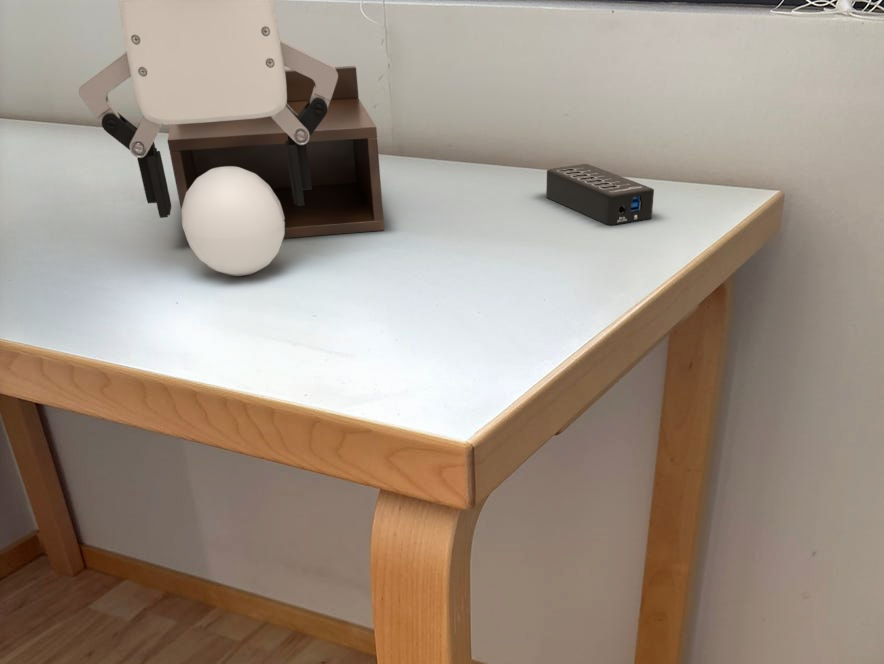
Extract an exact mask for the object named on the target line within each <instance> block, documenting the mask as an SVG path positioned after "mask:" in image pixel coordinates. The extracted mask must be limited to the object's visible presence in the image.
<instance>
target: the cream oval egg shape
mask: <svg viewBox="0 0 884 664" xmlns="http://www.w3.org/2000/svg"><path fill="white" fill-rule="evenodd" d="M285 220H286V217H285V215H284V214H283V211H282V207H281V204H280V201H279V200H278V198H277V197H276V195H275V194H274V192H273V190H272V189H271V187H270V186H269V185H268V184H267V183H266V182H265V181H264V180H262V179H261V178H260V177H259V176H258V175H257V174H255V173H252V172H250V171H247V170H245V169H242V168H240V167H235V166H225V167H217V168H213V169H211V170H209V171H207V172H206V173H204V174H202V175H201V176H199V177H198V178H197V179H196V180H195V181H194V183H193V184H192V185H191V187H190V188H189V190H188V191H187V192H186V195H185V198H184V202H183V205H182V212H181V226H182V229H183V232H184V235H185V238H186V241H187V240H188V243H189V247H190V248H191V250H192V251H193V253H194V254H195V255H196V257H197V258H198V259H199V260H200V261H201V262H202V263H204V264H206V265H207V266H208V267H209V268H210V269H212V270H214V271H215V272H219V273H222V274H226V275H229V276H235V277H242V276H243V277H244V276H248V275H252V274H255V273H257V272H258V271H260V270H262V269H264V268H266V267H268V266H269V265H270V264H271V263H272V261H273V260H274V259H275V257H276V256H277V255H278V253H279V251H280V249H281V246H282V243H283V241H284V239H285V238H284V234H285ZM188 243H187V244H188Z"/></svg>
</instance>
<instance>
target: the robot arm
mask: <svg viewBox="0 0 884 664" xmlns="http://www.w3.org/2000/svg"><path fill="white" fill-rule="evenodd" d="M118 5H119V12H120V19H121V26H122V32H123V39H124V45H125V52H123V53H122V54H121V55H119V56H117V58H115V59H114V60H112V61H110V62H109V63H108V64H107V65H106V66H104V67H103V68H102V69H100V70H99V71H97V72H96V73H95V74H94V75H92V76H91V77H89V78H88V79H86V80H85V81H84V82H82V84H81V85H80V87H79V89H78V95H79V97H80V99H81V101H83V102H84V104H85V106H87V108H88V109H89V110H90V112H91V113H92V115H93V116H94V117H95V118H96V119H97V120H98V122H99V123H100V124H101V127H102V128H103V130H104V131H105V132H106V133H107V134H108V135H110V137H113V138H114V139H115V140H116V141H117V142H118V143H120V144H121V145H122V146H124V147H125V148H126V149H127V150H129V152H130V153H131V154H132V156H133V157H135V158H137V159H136V160H137V163H138V164H137V165H138V167H139V172H140V177H141V181H142V185H143V190H144V194H145V199H146V202H147V204H156V208H157V211H158V216H159V218H160V219H163V218H168V216H170V215H171V211H172V201H171V197H170V196H171V195H170V193H169V187H168V182H167V177H166V173H165V169H164V164H163V158H162V154H161V151H160V150H158V148H157V147H156V144H155V140H156V139H157V136H158V134H159V133H160V131H161V129H162V127H163V126H164V125H169V126H171V125H174V124H190V123H205V122H218V121H231V120H244V119H255V118H263V117H269V116H270V117H271V118H272V119H273V120H274V121H275V122H276V123H277V124H278V125H279V126H280V127H281V128H282V129H283V130H284V131H285V132H286V133H287V137H288V138H287V139H288V141H285V144H286V151H287V158H288V165H289V172H290V179H291V187H292V193H293V199H294V203H295V204H297V205H298V206H301V205H305V204H304V196H303V190H310V189H312V186H311V178H310V170H309V162H308V155H307V147H306V143H307V142H308V141H309V138H310V136H311V135H312V133H313V132H314V130H315V129H316V128H317V126H318V125H319V124H320V122H321V121H322V119H323V118H324V117H325V115H326V114H327V110H328V106H329V103H330V101H331V98H332V95H333V92H334V89H335V86H336V83H337V80H338V73H337V71H336V69H335V68H334V67H335V66H333V65H331V64H330V63H327V62H326V61H323V60H321V59H319V58H317V57H315V56H314V55H311V54H309V53H307V52H305V51H303V50H301V49H299V48H297V47H295V46H293V45H291V44H289V43H287V42H284V41H282V40H281V37H280V32H279V26H278V21H277V15H276V9H275V4H274V0H118ZM286 68H288V69H292V70H294V71H296V72H299V73H301V74H303V75H305V76H307V77H309V78H311V79H312V80H314V83H315V85H314V89H313V93H312V96H311V98H310V100H309V101H308V103H307V104H306V105H305V107H304V108H303V109H302V111H301V112H300V114H299V115H298V114H297V113H296V112H295V111H294V110H293V109H292V108H291V107H290V106H289V105H288V104H287V85H286V75H285V70H286ZM128 79H131V83H132V88H133V92H134V97H135V100H136V104H137V107H138V109H139V112H140V114H141V115H142V118H141V119H140V121H139V123H138V125H137V126H136V125H134V124H133V123H132V122H130V121H129V120H128V119H127V118H126V117H124V116H123V115H122V114H120V113H119V112H118V111H117V110H116V109H115V107H114V106H113V104H112V103H111V101H110V100H109V96H108V95H109V93H110V92H111V91H113V90H115V89H116V88H117V87H118V86H120V85H121V84H122V83H124V82H125V81H127V80H128Z"/></svg>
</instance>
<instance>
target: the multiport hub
mask: <svg viewBox="0 0 884 664" xmlns="http://www.w3.org/2000/svg"><path fill="white" fill-rule="evenodd" d="M545 189H546V191H545V192H546V194H545V195H546V198H547V199H549V200H551V201H553V202H556V203H558V204H560V205H562V206H565V207H567V208H568V209H569V208H570V209H571V210H574V211H576V212H578V213H581V214H583V215H585V216H587V217H589V218H592V219H593V220H596V221H599V222H600V223H603V224H605V225H608V226H616V225H622V224H626V223H627V224H628V223H633V222H639V221H645V220H650V219H651V220H652V218H653V208H654V195H655V189H654V188H652V187H650V186H647V185H644V184H641V183H639V182H636V181H634V180H631V179H628V178H626V177H623V176H620V175H618V174H615V173H613V172H611V171H607V170H604V169H602V168H599V167H596V166H594V165H591V164H588V163H582V164H574V165H568V166H561V167H554V168H549V169H547V170H546V188H545Z"/></svg>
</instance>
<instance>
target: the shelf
mask: <svg viewBox="0 0 884 664" xmlns="http://www.w3.org/2000/svg"><path fill="white" fill-rule="evenodd" d="M333 67H334V68H335V69H336V71H337V73H338V80H337V83H336V86H335V89H334V92H333V95H332V98H331V101H330V103H329V106H328V110H327V114H326V115H325V117H324V118H323V119H322V121H321V122H320V124H319V125H318V126H317V128H316V129H315V130H314V132H313V133H312V135H311V136H310V138H309V141H308V142H307V143H306V147H307V155H308V162H309V170H310V178H311V186H312V189H310V190H303V196H304V204H305V205H301V206H298V205H297V204H295V203H294V199H293V193H292V187H291V179H290V172H289V165H288V158H287V151H286V144H285V141H288V139H287V138H288V137H287V133H286V132H285V131H284V130H283V129H282V128H281V127H280V126H279V125H278V124H277V123H276V122H275V121H274V120H273V119H272V118H271V117H270V116H269V117H263V118H255V119H244V120H231V121H218V122H205V123H190V124H174V125H170V127H169V131H168V136H167V139H166V140H167V145H168V150H169V155H170V160H171V166H172V171H173V176H174V181H175V185H176V191H177V197H178V202H179V206H180V213H182V205H183V202H184V198H185V195H186V192H187V191H188V190H189V188H190V187H191V185H192V184H193V183H194V181H195V180H196V179H197V178H198V177H199V176H201V175H202V174H204V173H206V172H207V171H209V170H211V169H213V168H217V167H225V166H235V167H240V168H242V169H245V170H247V171H250V172H252V173H255V174H257V175H258V176H259V177H260V178H261V179H262V180H264V181H265V182H266V183H267V184H268V185H269V186H270V187H271V189H272V190H273V192H274V194H275V195H276V197H277V198H278V200H279V201H280V204H281V207H282V211H283V214H284V215H285V217H286V220H285V234H284V238H283V239H292V238H303V237H304V238H306V237H316V236H317V237H318V236H331V235H341V234H342V235H343V234H356V233H366V232H368V233H369V232H380V231H385V222H384V209H383V197H382V183H381V169H380V156H379V145H378V144H379V142H378V129H377V126H376V124H375V122H374V121H373V119H372V118H371V115H370V114H369V112H368V111H367V110H366V107H365V106H364V104H363V103H362V100H361V99H360V97H359V86H358V74H357V73H358V72H357V67H356V66H355V65H346V66H333ZM285 75H286V85H287V104H288V105H289V106H290V107H291V108H292V109H293V110H294V111H295V112H296V113H297V114H298V115H299V114H300V112H301V111H302V109H303V108H304V107H305V105H306V104H307V103H308V101H309V100H310V98H311V96H312V93H313V89H314V85H315V83H314V80H312V79H311V78H309V77H307V76H305V75H303V74H301V73H299V72H296V71H294V70H292V69H290V68H288V69H285ZM186 243H187V246H189V243H188V240H187V239H186ZM189 247H190V246H189Z"/></svg>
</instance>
